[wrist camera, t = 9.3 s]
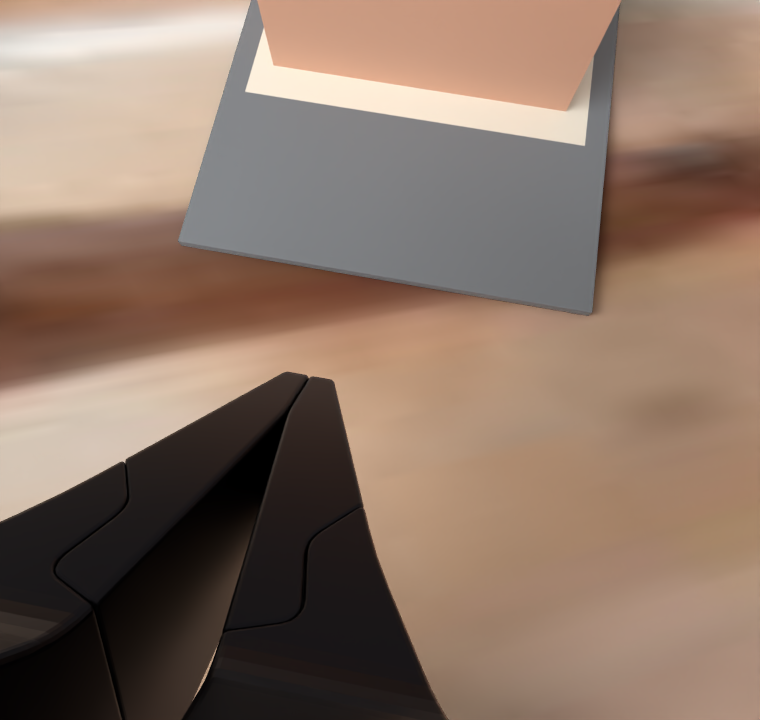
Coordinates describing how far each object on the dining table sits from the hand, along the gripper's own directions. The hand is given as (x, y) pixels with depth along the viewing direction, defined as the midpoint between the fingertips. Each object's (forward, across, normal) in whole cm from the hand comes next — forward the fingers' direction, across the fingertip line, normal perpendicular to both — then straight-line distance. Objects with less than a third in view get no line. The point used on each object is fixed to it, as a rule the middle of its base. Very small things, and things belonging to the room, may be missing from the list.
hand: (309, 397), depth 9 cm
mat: (+22, 0, -5) cm, 22 cm away
